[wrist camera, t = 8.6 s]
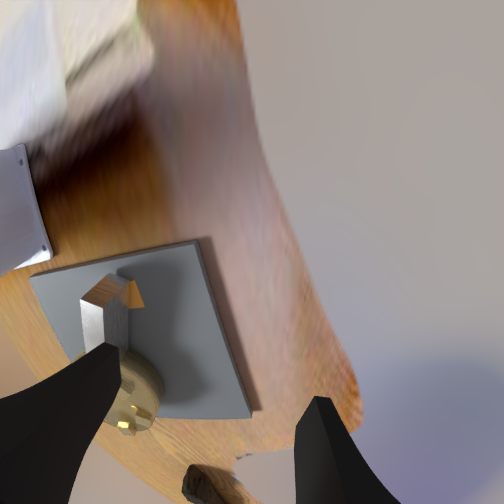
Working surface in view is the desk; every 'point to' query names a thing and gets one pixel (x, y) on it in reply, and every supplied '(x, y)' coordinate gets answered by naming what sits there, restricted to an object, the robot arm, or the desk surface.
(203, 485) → the dark brown statuette
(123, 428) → the gold rounded piece
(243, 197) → the desk surface
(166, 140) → the desk surface
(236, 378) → the base plate
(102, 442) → the desk surface
